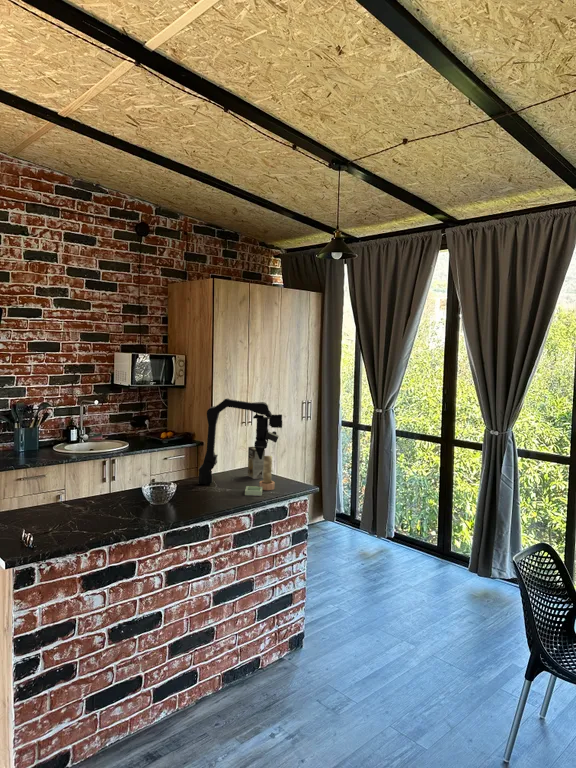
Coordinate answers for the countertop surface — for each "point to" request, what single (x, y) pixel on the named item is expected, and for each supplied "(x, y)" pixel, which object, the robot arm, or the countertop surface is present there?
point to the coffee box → (255, 464)
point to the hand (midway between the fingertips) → (261, 457)
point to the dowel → (267, 469)
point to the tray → (253, 490)
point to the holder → (267, 485)
